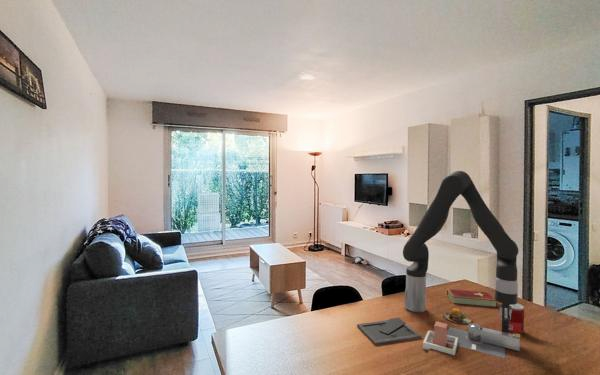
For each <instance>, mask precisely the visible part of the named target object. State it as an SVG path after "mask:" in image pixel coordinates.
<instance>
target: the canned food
mask: <svg viewBox="0 0 600 375" xmlns="http://www.w3.org/2000/svg"><path fill="white" fill-rule="evenodd" d="M509 306H512V313H511V320H510V322H509V323H510V324H509V331H508V333H510V334H513V332H515V333H519V334H520V335H522V334H523V333H524V327H525V326H524V324H525V306H524V305H522V304H520V303H518V302H517V304H515V305H509ZM500 319H501V320H502V318H501V317H500ZM501 320H500V321H501ZM500 326H501V328H502V323H501V324H500Z"/></svg>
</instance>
